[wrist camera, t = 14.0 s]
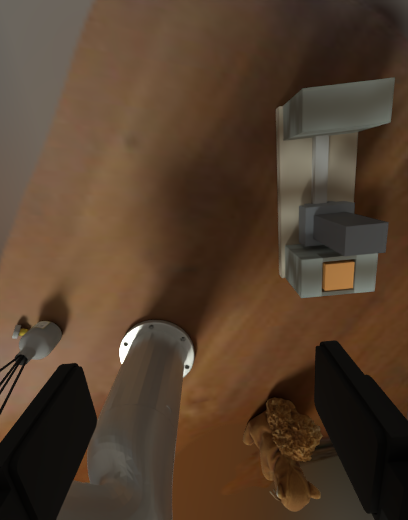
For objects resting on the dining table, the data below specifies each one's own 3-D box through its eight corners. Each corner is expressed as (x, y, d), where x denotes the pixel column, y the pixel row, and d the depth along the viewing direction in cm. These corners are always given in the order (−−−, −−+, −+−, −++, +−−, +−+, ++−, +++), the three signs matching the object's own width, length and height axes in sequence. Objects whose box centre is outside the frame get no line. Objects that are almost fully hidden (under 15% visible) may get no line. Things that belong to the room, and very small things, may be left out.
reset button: (344, 281, 35) (352, 288, 33) (317, 283, 35) (324, 290, 33) (345, 256, 34) (354, 261, 32) (318, 259, 34) (325, 264, 32)
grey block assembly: (344, 268, 41) (378, 290, 33) (279, 274, 41) (297, 298, 33) (353, 100, 34) (400, 76, 26) (275, 109, 35) (297, 89, 26)
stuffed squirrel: (240, 440, 52) (252, 524, 39) (258, 382, 48) (277, 455, 35) (290, 447, 53) (316, 532, 40) (311, 390, 48) (349, 465, 36)
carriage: (338, 235, 38) (394, 260, 27) (295, 240, 38) (333, 266, 27) (340, 200, 36) (400, 210, 25) (295, 204, 36) (336, 217, 25)
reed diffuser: (74, 316, 44) (-26, 424, 25) (81, 352, 46) (-7, 477, 27) (13, 317, 44) (-135, 426, 25) (22, 353, 46) (-107, 478, 27)
